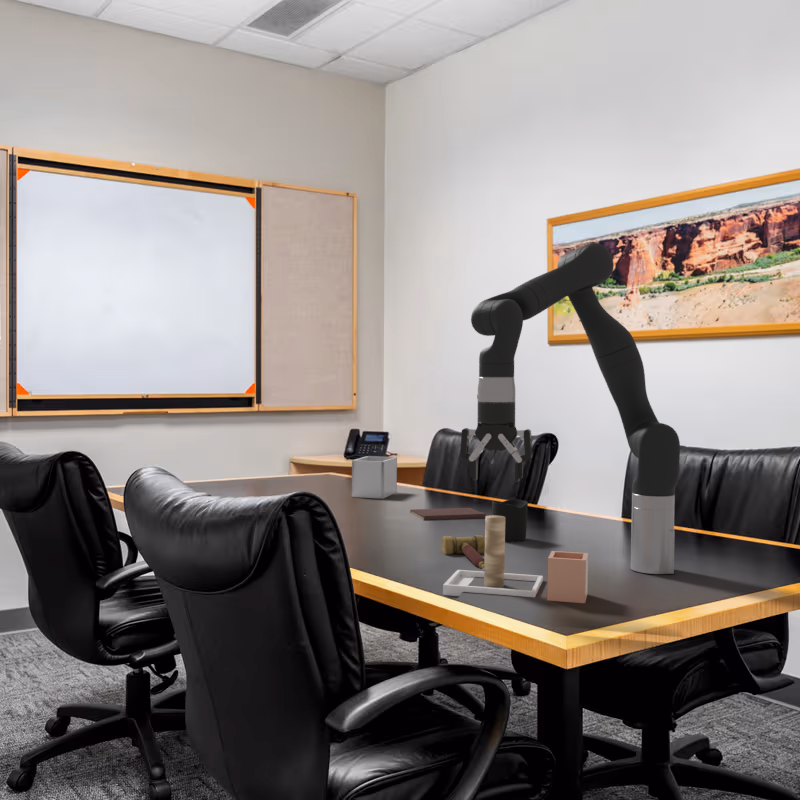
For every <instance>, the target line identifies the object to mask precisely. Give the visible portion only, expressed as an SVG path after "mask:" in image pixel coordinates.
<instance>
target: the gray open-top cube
mask: <svg viewBox="0 0 800 800" xmlns="http://www.w3.org/2000/svg"><path fill="white" fill-rule="evenodd" d="M397 480H398V457H397V456H396V457H395V456H374V455H373V456H371V455H368V456H367V455H366V456H363V457H360V458H356V459H352V460H351V497H352V498H361V499H364V498H366V499H386V498H387V497H389V496H392V495H393V494H394V495H395V494H396V493H397V492H398V490H397V489H398V485H397V484H398V481H397Z"/></svg>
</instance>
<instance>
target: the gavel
mask: <svg viewBox="0 0 800 800" xmlns="http://www.w3.org/2000/svg"><path fill="white" fill-rule="evenodd" d="M440 544H441V552H442V554H443V555H453V554H455V555H457V554H464V555H465V556H466V558H467V559H469V561H470V562H471V563H472V564H473V565H474V566H475V567H476V568H479V569H484V568H485V557H483V556H482V555H481V554H485V536H483V534H481V535H479V534H477V535H476V534H475V535H474V536H473V537H472V536H460V537H459V536H458V537H457V536H454V537H452V535H449V536H448V535H444V536H442V538H441V543H440Z"/></svg>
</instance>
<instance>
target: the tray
mask: <svg viewBox="0 0 800 800" xmlns="http://www.w3.org/2000/svg"><path fill="white" fill-rule="evenodd" d="M475 578H484V571H482V570H481V571H480V570H464V569H456V570H455V572H454V573H453V574H452V575H451V576H450V577H449V578H448V579H447V580H446V581H445V582H444V583H443V585H442V595H443V596H451V597H452V596H453V597H460V596H461V595H462V594H463V593H464V592H465V593H475V594H476V593H477V594H489V595H501V596H513V597H514V596H515V597H523V598H524V597H527V598H536V596H537V595H538V592H539V590H540V588H541V585H542V584H543V582H544V576H543V575H537V574H534V575H533V574H525V573H524V574H522V573H521V574H520V573H510V572H507V573H506V572H504V580H512V581H513V580H515V581H527V582H534V585H533V586H532V589H531V590H530V589H529V590H527V589H516V588H515V589H514V588H504V587H500V588H491V587H486V586H476V585H470V584H471V583H472V581H474V579H475Z"/></svg>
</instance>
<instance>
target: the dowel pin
mask: <svg viewBox="0 0 800 800" xmlns="http://www.w3.org/2000/svg"><path fill="white" fill-rule="evenodd" d="M484 520H485V521H484V522H485V523H484V539H485V552H484V559H485V568H483V569H484V571H483V572H484V577H483V581H484V582H483V585H484V586H483V587H491V588H504V587H505V579H504V573H505V565H506V564H505V561H506V560H505V558H506V557H505V552H506V542H505V517H504V516H496V515H492V514H490V515H486V517H485V518H484Z"/></svg>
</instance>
